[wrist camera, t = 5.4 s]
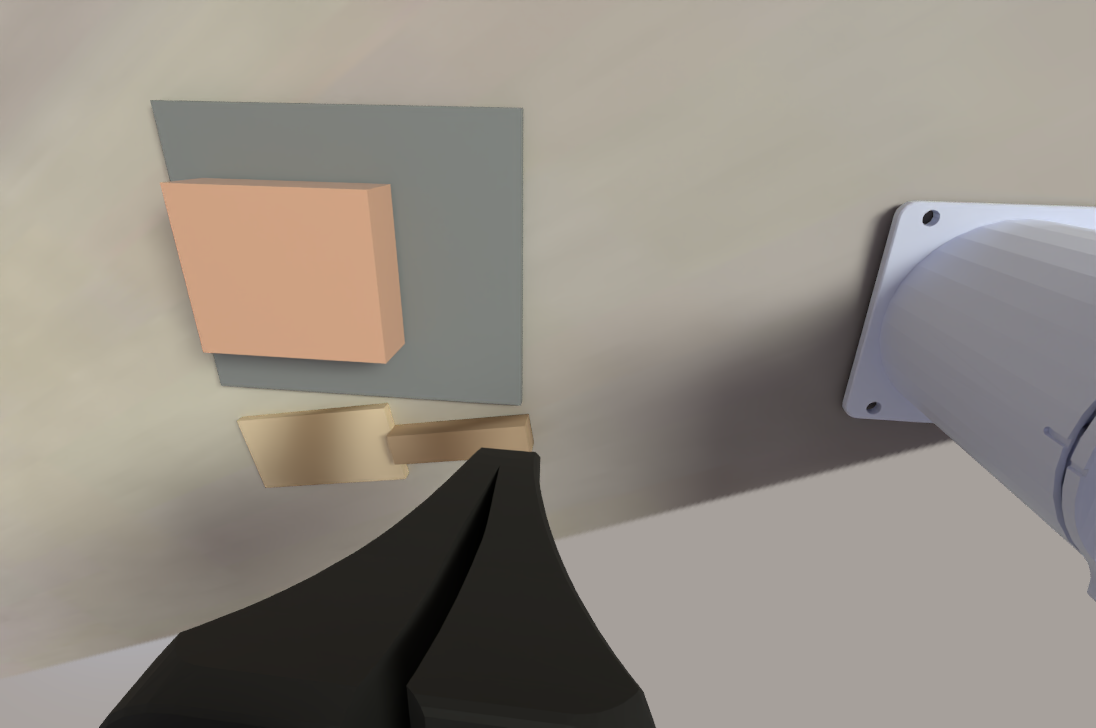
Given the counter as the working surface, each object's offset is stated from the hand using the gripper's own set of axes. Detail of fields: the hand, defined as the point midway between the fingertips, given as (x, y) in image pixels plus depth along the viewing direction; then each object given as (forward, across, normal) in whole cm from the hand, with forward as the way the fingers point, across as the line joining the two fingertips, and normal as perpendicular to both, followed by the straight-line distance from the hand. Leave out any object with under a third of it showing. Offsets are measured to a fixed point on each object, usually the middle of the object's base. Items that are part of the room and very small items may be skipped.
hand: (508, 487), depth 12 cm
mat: (+10, +8, -2) cm, 13 cm away
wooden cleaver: (+10, +8, +6) cm, 14 cm away
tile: (+8, +6, -2) cm, 10 cm away
